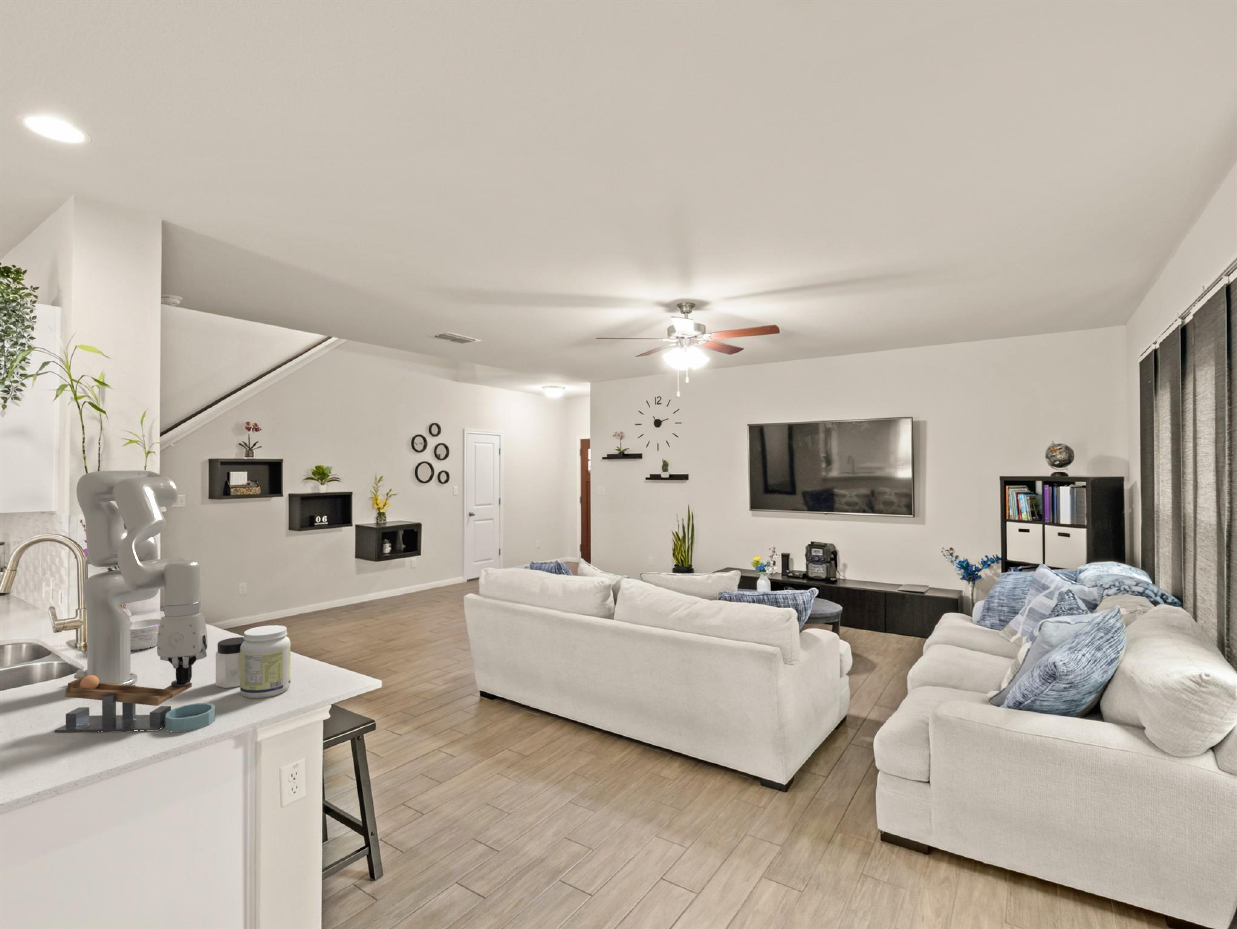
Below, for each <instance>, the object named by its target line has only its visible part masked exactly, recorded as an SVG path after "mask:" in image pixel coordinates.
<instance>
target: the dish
mask: <svg viewBox="0 0 1237 929" xmlns="http://www.w3.org/2000/svg"><path fill="white" fill-rule="evenodd" d="M214 722H216V707H215V704H212V703H209V702H197V703H196V702H195V703H192V704H186V705H185V704H184V705H181V706H178V707H175V708H171V711H169V712H167V713H166V726H165V731H167V730H168V732H170V731H172V732H171V733H185V732H190V731H196V730H199V729H203V728H205V727H208V726H209V725H211V724H213V723H214Z"/></svg>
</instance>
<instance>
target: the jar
mask: <svg viewBox="0 0 1237 929" xmlns="http://www.w3.org/2000/svg"><path fill="white" fill-rule="evenodd" d="M243 637H244V636H235V637H230V638H225V639H221V640H220V641H218V642H217V651H216V652H215V686H216V687H220V688H223V689H231V688H236V687H240V647H241V644H242V643H243V642H244V641H245V640H244V639H243Z"/></svg>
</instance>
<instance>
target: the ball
mask: <svg viewBox="0 0 1237 929" xmlns="http://www.w3.org/2000/svg"><path fill="white" fill-rule="evenodd" d="M98 684H99V679H98V677H96V676H94V675H89V676H86V677H84V678H83V679H82V680H81V682H80V687H81V688H82V689H90V690H93V689H95V688H96V687H97V686H98Z"/></svg>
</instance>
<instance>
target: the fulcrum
mask: <svg viewBox="0 0 1237 929" xmlns="http://www.w3.org/2000/svg"><path fill="white" fill-rule="evenodd" d="M128 686H136V684H130V685H128ZM121 703H122V708H121V709H122V710H121V712H122V714H117V702H116V695H105V696H102V700H101V713H102V714H101V715H99V714H98V715H90V707H89V706H87V707H85V706H83V707H81V706H79V707H77V708H75V709H73V710H71V711H68V712H67V713H65V724H64V725H61V726H60V727H58V728H56V729H54V734H55V733H56V734H57V733H58V734H64V733H71V734H72V733H112V732H111V731H133V732H135V731H134V730H138V731H137V732H141V731H140V730H144V731H143V732H148V731H147V730H159V729H160V728H162V727H163V728H165V727H166V726H165V725H166V713H167V712H169V711H171V710H172V706H171V705H159V706H157V707H156V708H155V709H154V710H151V711H150V712H149V714H136V705H137V704H133V703H123V702H121ZM164 726H165V727H164ZM163 728H162V729H163ZM160 730H161V729H160ZM160 730H159V731H160ZM98 731H99V732H98ZM101 731H103V732H101ZM108 731H110V732H108Z"/></svg>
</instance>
